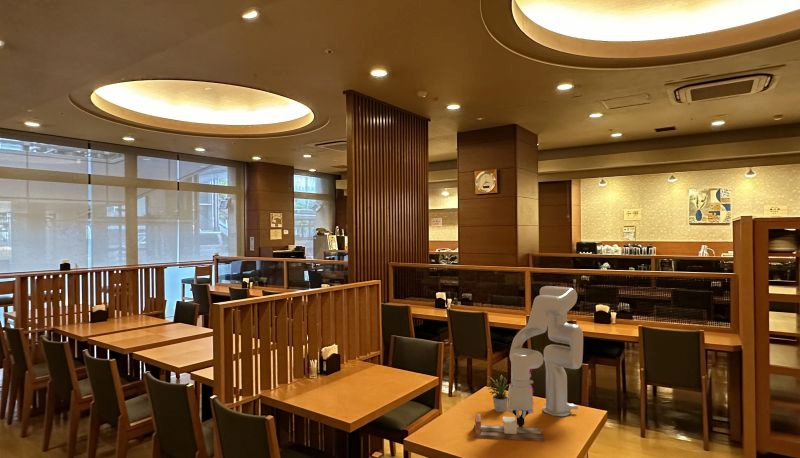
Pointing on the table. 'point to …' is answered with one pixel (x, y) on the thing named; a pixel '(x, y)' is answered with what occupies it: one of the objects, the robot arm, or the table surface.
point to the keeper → (509, 425)
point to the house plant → (499, 395)
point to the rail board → (498, 433)
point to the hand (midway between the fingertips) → (520, 426)
